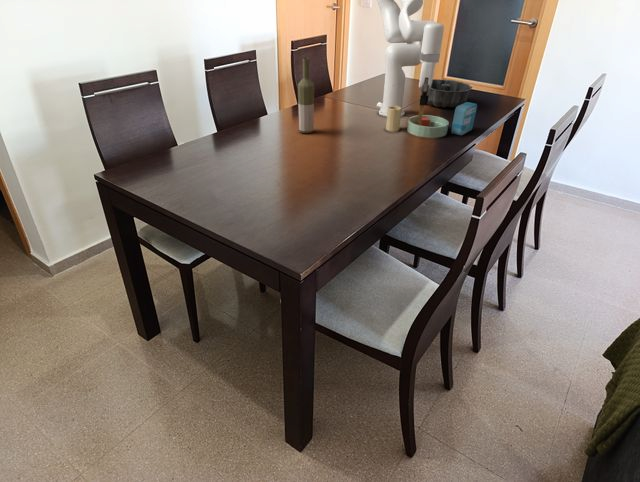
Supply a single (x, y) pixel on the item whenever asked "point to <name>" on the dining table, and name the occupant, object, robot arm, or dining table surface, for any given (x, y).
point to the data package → (464, 118)
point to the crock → (393, 118)
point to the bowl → (430, 132)
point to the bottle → (306, 100)
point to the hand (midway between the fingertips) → (423, 104)
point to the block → (425, 121)
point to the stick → (420, 114)
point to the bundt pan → (448, 93)
